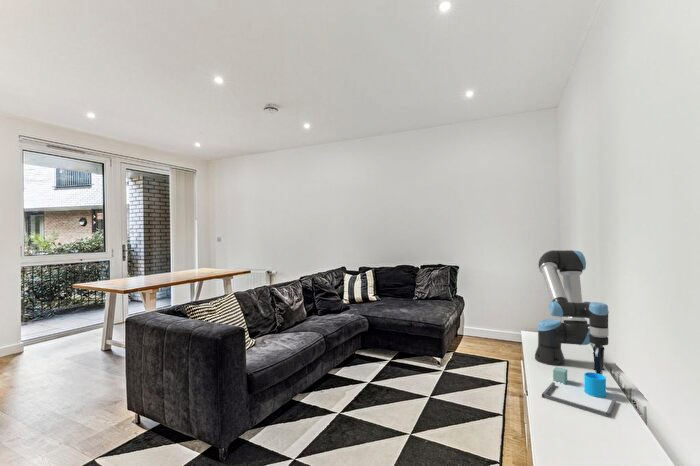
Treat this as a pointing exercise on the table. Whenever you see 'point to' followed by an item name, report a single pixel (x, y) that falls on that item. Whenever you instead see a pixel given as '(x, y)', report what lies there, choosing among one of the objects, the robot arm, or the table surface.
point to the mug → (595, 384)
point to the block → (560, 375)
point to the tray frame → (606, 414)
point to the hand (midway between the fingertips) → (599, 383)
